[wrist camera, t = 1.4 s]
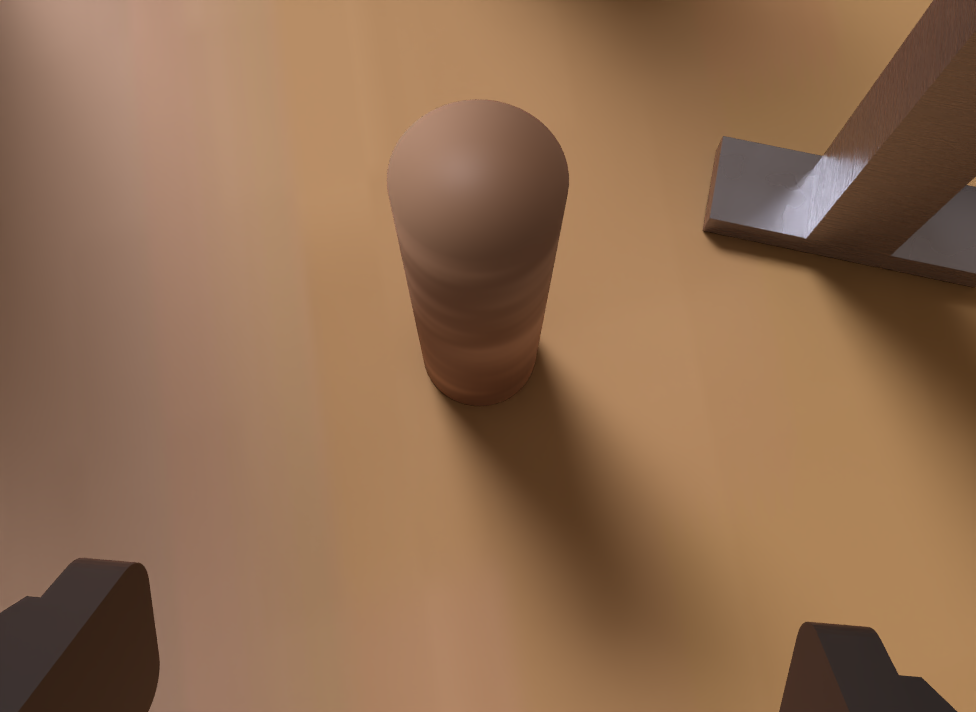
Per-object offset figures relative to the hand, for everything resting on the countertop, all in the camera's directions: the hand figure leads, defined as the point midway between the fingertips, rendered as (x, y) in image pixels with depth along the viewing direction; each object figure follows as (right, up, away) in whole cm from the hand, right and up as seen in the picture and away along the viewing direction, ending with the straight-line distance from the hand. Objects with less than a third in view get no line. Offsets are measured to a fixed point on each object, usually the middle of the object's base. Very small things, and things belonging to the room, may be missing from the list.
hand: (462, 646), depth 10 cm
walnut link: (0, +4, +20) cm, 20 cm away
